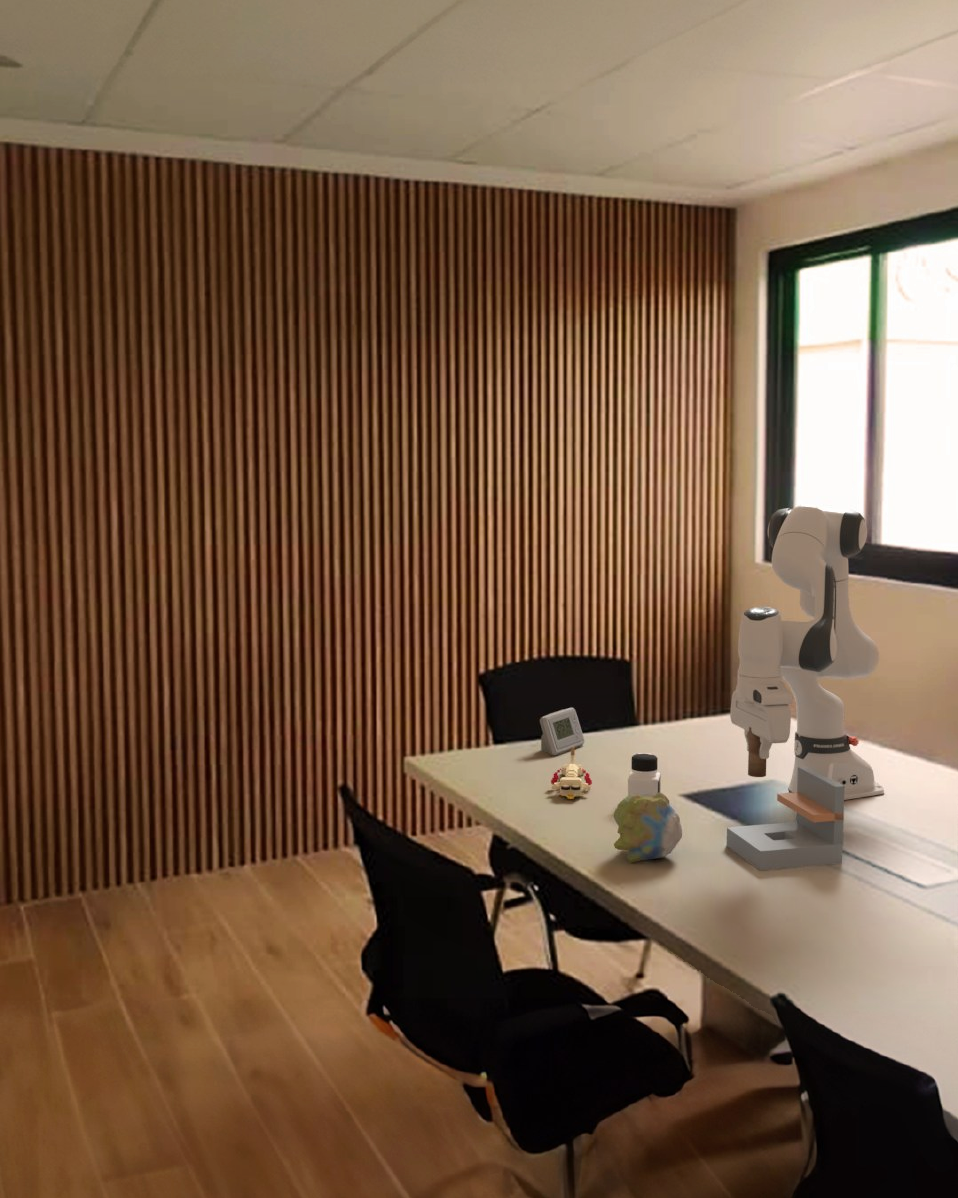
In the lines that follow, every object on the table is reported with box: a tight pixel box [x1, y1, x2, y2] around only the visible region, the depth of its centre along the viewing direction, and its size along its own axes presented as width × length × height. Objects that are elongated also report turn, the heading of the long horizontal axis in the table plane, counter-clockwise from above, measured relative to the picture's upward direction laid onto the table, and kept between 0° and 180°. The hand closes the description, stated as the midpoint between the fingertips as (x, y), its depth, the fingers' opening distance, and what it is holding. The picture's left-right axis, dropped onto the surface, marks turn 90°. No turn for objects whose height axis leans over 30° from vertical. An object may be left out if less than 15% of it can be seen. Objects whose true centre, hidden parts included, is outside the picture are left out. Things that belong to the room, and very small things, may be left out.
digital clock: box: [539, 707, 585, 756], centre depth 353 cm, size 16×9×11 cm, turn 132°
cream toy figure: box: [550, 747, 593, 800], centre depth 316 cm, size 10×9×25 cm
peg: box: [747, 727, 767, 778], centre depth 261 cm, size 4×4×10 cm
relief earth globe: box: [613, 792, 683, 864], centre depth 263 cm, size 14×16×15 cm
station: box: [726, 766, 845, 871], centre depth 264 cm, size 18×16×16 cm
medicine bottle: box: [627, 752, 662, 796], centre depth 300 cm, size 7×7×12 cm
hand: (757, 755), depth 261 cm, fingers closed on peg, 4 cm apart
